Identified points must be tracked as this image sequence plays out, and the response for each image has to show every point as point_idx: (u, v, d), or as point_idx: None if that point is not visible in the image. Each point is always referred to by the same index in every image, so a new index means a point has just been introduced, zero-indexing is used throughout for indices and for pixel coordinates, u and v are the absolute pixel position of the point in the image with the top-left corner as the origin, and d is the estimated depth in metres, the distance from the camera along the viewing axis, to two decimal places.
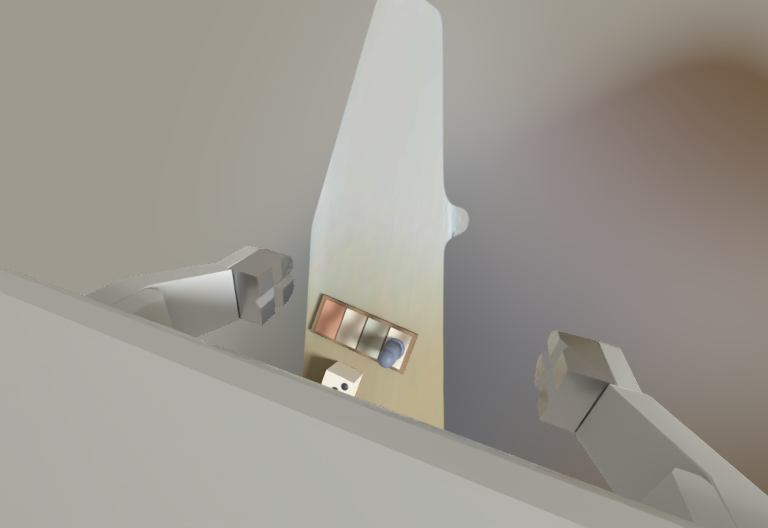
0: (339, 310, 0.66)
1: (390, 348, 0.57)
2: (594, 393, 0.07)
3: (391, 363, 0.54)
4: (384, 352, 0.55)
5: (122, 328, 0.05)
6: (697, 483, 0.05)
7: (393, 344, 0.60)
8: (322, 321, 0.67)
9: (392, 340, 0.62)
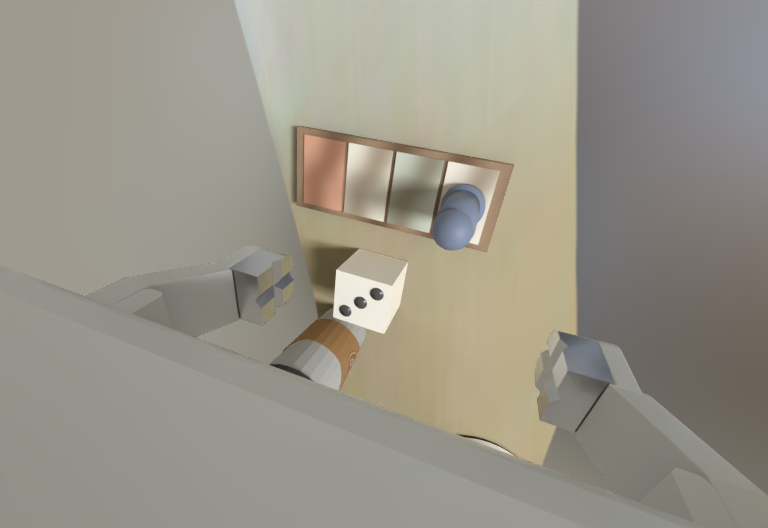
0: (335, 150, 0.32)
1: (458, 204, 0.24)
2: (594, 393, 0.07)
3: (467, 238, 0.22)
4: (446, 215, 0.22)
5: (122, 328, 0.05)
6: (697, 483, 0.05)
7: (461, 195, 0.26)
8: (311, 182, 0.34)
9: (456, 188, 0.28)
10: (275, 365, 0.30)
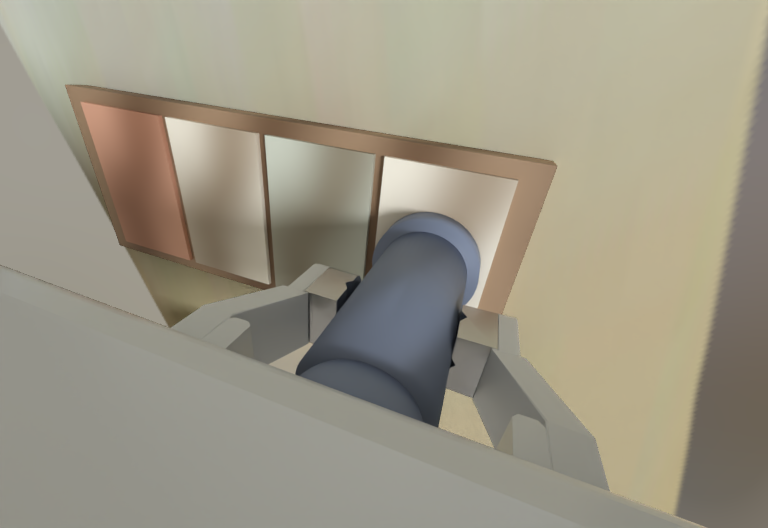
0: (146, 136, 0.14)
1: (375, 326, 0.06)
2: (481, 358, 0.07)
3: None
4: None
5: (122, 328, 0.05)
6: (531, 425, 0.05)
7: (409, 260, 0.09)
8: (125, 203, 0.17)
9: (406, 228, 0.11)
10: None
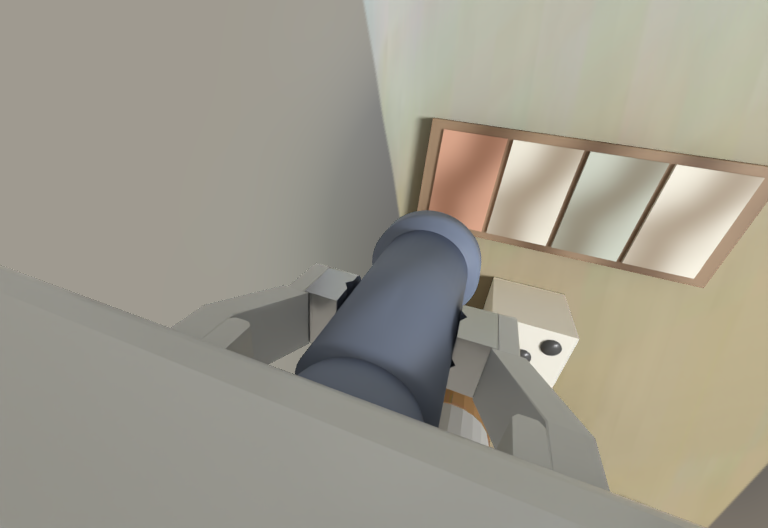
0: (490, 151, 0.23)
1: (376, 323, 0.06)
2: (482, 358, 0.07)
3: None
4: None
5: (122, 328, 0.05)
6: (531, 425, 0.05)
7: (409, 258, 0.09)
8: (443, 193, 0.25)
9: (406, 226, 0.11)
10: None
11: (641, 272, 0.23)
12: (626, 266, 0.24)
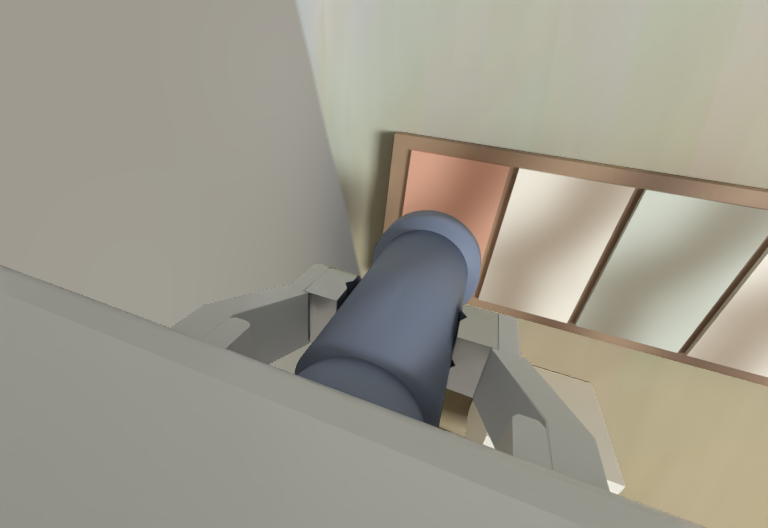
0: (482, 184, 0.15)
1: (375, 323, 0.06)
2: (481, 358, 0.07)
3: None
4: None
5: (122, 328, 0.05)
6: (531, 425, 0.05)
7: (409, 258, 0.09)
8: None
9: (406, 226, 0.11)
10: None
11: (716, 369, 0.15)
12: (692, 359, 0.15)
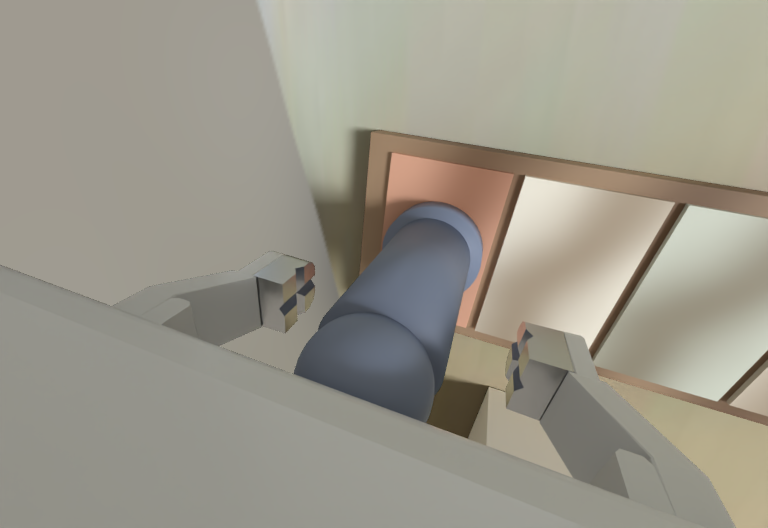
0: (479, 195, 0.12)
1: (390, 286, 0.07)
2: (555, 381, 0.07)
3: None
4: (326, 353, 0.06)
5: (122, 328, 0.05)
6: (638, 463, 0.05)
7: (418, 239, 0.10)
8: None
9: (414, 215, 0.12)
10: None
11: (765, 422, 0.12)
12: (735, 409, 0.13)
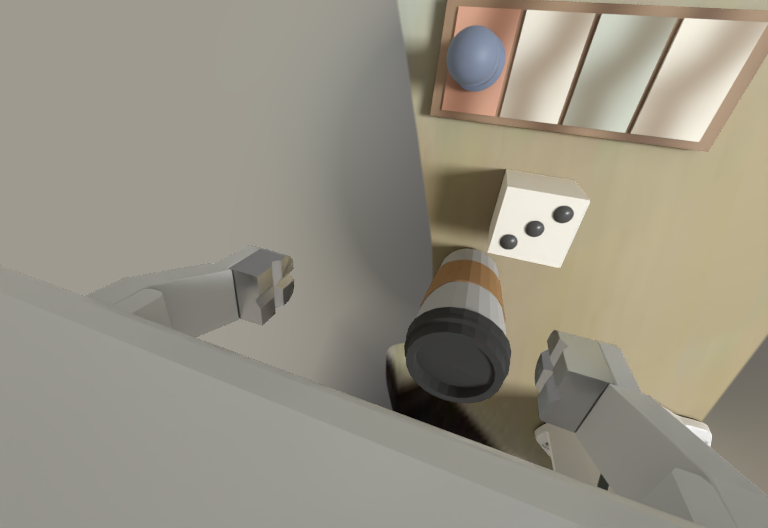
0: (503, 25, 0.24)
1: None
2: (594, 393, 0.07)
3: (492, 58, 0.18)
4: (465, 30, 0.18)
5: (122, 328, 0.05)
6: (697, 483, 0.05)
7: None
8: None
9: None
10: (444, 308, 0.24)
11: (648, 142, 0.25)
12: (634, 137, 0.25)
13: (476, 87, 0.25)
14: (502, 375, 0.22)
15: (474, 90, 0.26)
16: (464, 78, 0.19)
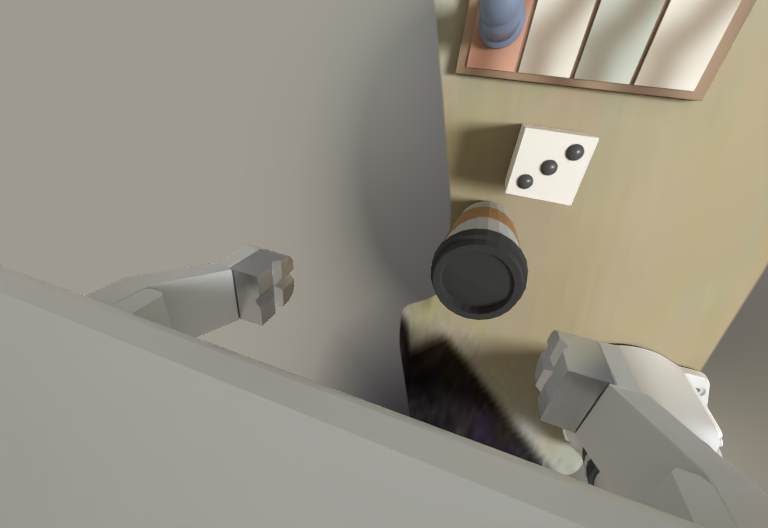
0: None
1: None
2: (594, 393, 0.07)
3: None
4: None
5: (122, 328, 0.05)
6: (697, 483, 0.05)
7: None
8: None
9: None
10: (469, 230, 0.27)
11: (650, 93, 0.28)
12: (637, 88, 0.28)
13: (499, 43, 0.29)
14: (521, 285, 0.25)
15: (497, 46, 0.29)
16: (495, 17, 0.22)
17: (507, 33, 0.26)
